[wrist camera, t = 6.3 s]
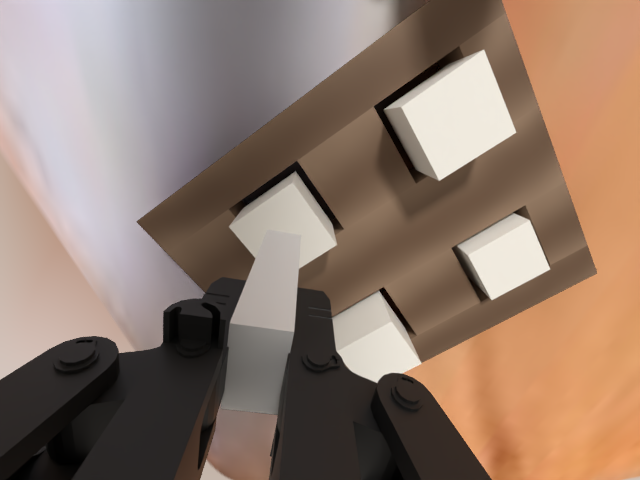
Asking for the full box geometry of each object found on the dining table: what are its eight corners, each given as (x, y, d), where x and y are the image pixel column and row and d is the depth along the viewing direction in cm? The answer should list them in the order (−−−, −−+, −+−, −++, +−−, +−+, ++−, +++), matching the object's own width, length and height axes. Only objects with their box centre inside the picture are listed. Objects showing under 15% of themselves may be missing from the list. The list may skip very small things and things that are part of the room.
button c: (383, 109, 17) (401, 106, 13) (448, 63, 16) (484, 49, 13) (415, 170, 18) (439, 180, 15) (477, 130, 17) (516, 132, 14)
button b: (331, 317, 22) (335, 352, 18) (378, 290, 21) (391, 321, 18) (359, 352, 23) (367, 390, 20) (405, 328, 22) (421, 363, 19)
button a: (243, 208, 18) (228, 226, 15) (295, 171, 18) (292, 182, 14) (281, 256, 20) (276, 282, 16) (332, 223, 19) (337, 244, 16)
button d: (444, 235, 22) (467, 255, 18) (495, 204, 21) (529, 220, 18) (466, 274, 23) (491, 300, 20) (515, 247, 22) (550, 269, 19)
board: (159, 208, 21) (131, 224, 17) (456, -15, 16) (492, -48, 13) (320, 383, 27) (322, 419, 24) (562, 254, 23) (604, 276, 20)
